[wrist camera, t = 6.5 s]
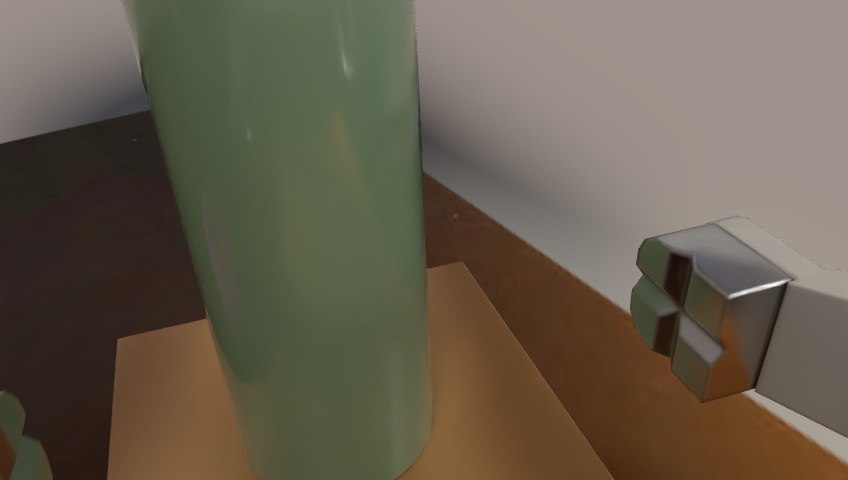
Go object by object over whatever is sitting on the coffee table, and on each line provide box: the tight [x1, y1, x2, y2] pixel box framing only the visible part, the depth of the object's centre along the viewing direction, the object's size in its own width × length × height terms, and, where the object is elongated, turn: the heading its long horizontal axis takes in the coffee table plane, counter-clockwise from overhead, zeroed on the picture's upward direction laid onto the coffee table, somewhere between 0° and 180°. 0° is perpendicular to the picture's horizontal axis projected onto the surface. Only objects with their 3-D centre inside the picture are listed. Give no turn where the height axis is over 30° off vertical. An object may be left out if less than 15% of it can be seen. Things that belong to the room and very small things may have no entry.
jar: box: [121, 0, 433, 480], centre depth 14 cm, size 5×5×13 cm
